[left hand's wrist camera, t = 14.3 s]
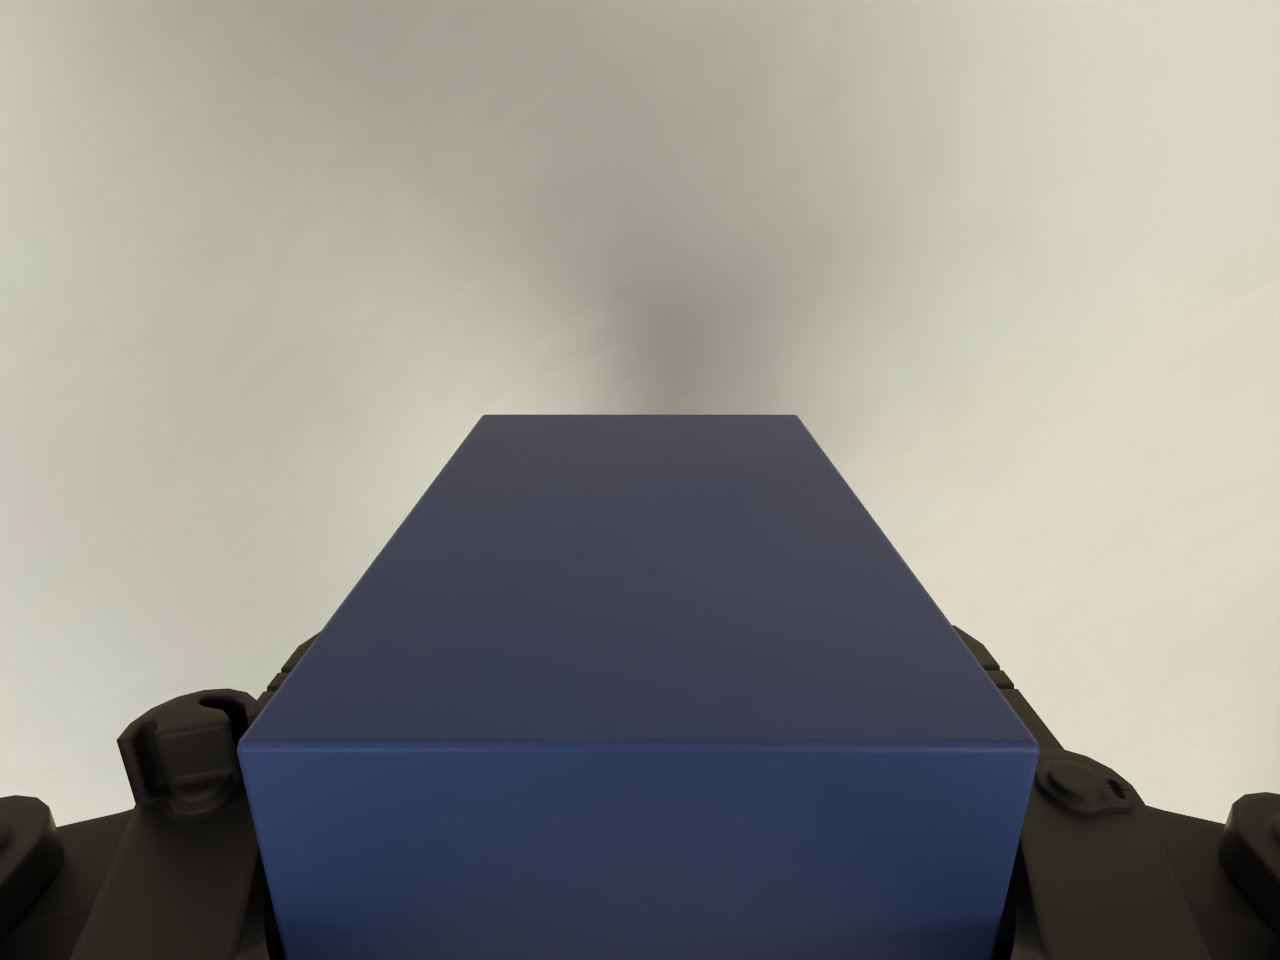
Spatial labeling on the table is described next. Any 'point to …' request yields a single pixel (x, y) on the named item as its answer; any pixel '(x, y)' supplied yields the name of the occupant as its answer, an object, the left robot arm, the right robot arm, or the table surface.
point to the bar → (638, 719)
